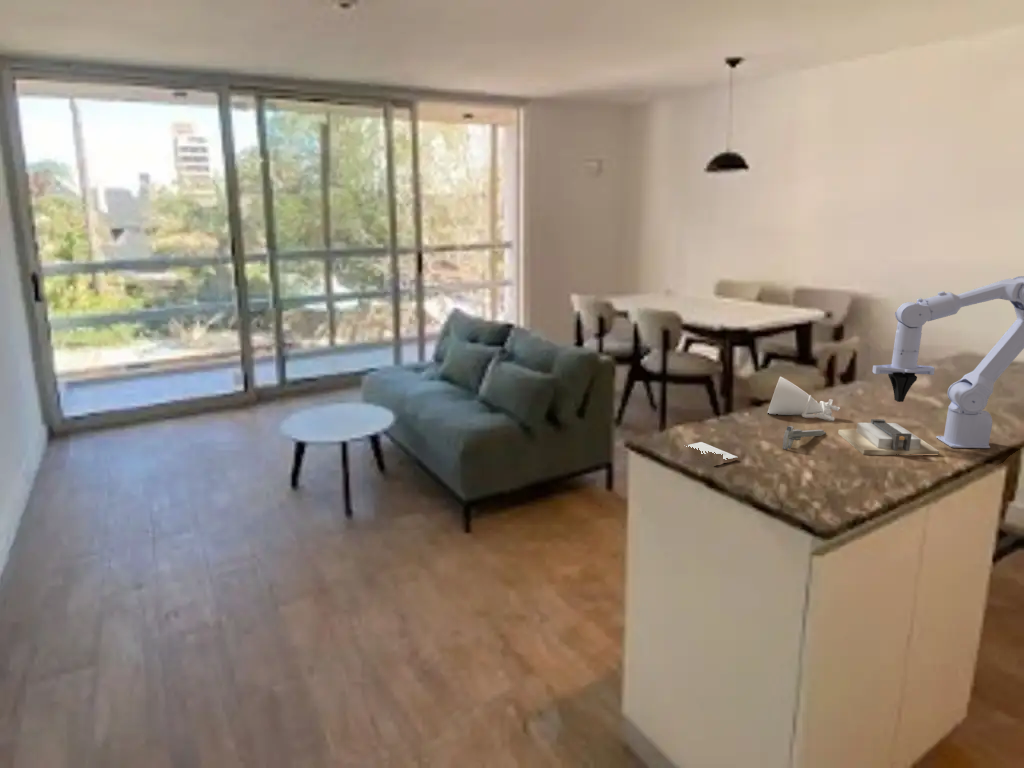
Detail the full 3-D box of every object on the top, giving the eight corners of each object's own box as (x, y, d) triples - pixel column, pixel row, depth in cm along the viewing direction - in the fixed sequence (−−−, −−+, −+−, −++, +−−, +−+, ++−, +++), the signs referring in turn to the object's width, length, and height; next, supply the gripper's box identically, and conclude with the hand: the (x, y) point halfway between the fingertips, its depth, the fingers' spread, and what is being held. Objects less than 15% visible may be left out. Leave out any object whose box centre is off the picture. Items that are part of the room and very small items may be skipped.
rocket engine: (847, 388, 197) (782, 368, 203) (837, 420, 192) (771, 399, 198) (837, 409, 206) (775, 390, 213) (827, 440, 201) (764, 420, 208)
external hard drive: (702, 447, 180) (738, 462, 169) (677, 452, 176) (713, 468, 165) (702, 441, 179) (739, 456, 169) (678, 446, 175) (714, 462, 165)
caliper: (786, 451, 176) (788, 428, 174) (782, 450, 176) (784, 426, 175) (825, 434, 188) (828, 412, 186) (821, 433, 189) (824, 411, 187)
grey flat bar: (884, 424, 183) (885, 421, 183) (908, 439, 171) (908, 437, 171) (873, 424, 183) (873, 421, 183) (895, 439, 171) (895, 437, 171)
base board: (907, 434, 186) (910, 414, 185) (938, 455, 171) (942, 434, 169) (838, 433, 188) (840, 413, 186) (863, 454, 172) (866, 433, 171)
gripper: (883, 352, 174) (876, 404, 177) (944, 353, 173) (935, 405, 176) (871, 347, 181) (865, 397, 184) (929, 347, 180) (921, 397, 183)
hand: (898, 400), depth 181 cm, fingers closed
